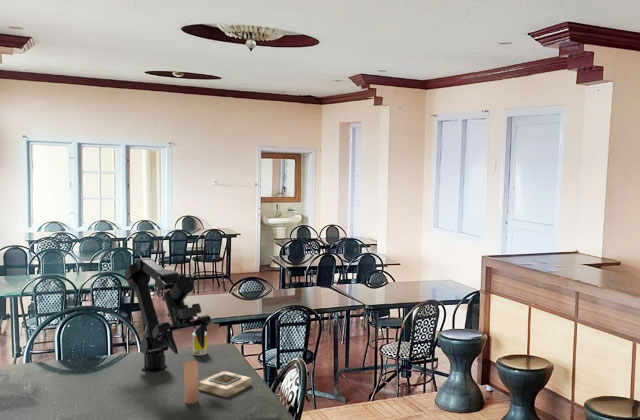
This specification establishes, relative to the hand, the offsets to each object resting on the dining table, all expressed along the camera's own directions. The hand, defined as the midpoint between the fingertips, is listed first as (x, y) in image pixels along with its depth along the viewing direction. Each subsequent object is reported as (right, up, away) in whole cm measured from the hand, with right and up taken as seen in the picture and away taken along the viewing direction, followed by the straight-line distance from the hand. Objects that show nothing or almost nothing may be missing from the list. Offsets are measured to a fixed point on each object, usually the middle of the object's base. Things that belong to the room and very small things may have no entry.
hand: (190, 350), depth 183 cm
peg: (+2, -14, -8) cm, 16 cm away
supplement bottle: (-5, -11, +38) cm, 40 cm away
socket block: (+11, -13, +4) cm, 17 cm away
